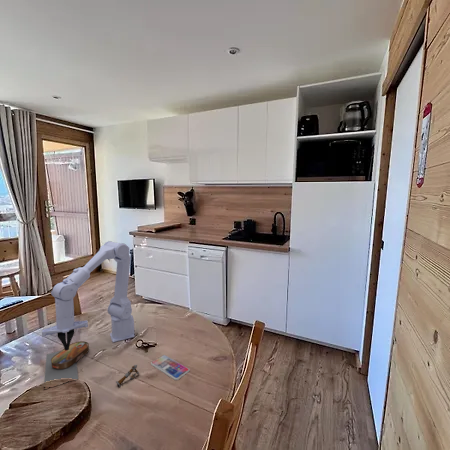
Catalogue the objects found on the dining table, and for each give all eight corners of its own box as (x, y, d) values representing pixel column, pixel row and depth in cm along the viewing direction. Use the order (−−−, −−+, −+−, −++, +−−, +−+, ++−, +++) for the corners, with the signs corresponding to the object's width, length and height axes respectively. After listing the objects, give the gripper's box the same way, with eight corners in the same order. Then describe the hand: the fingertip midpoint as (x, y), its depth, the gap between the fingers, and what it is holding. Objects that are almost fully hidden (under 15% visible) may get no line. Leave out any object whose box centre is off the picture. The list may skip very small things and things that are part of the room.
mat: (75, 347, 110) (75, 347, 109) (78, 379, 91) (78, 378, 91) (46, 355, 104) (46, 354, 104) (43, 390, 86) (43, 389, 86)
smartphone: (164, 353, 106) (191, 369, 97) (164, 356, 106) (191, 371, 97) (149, 362, 100) (176, 379, 91) (149, 365, 100) (176, 382, 91)
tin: (64, 365, 94) (45, 360, 95) (64, 373, 94) (45, 368, 96) (93, 342, 109) (76, 338, 110) (93, 349, 109) (75, 345, 110)
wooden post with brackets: (142, 372, 94) (137, 364, 92) (123, 391, 89) (117, 383, 87) (139, 370, 95) (134, 362, 93) (120, 389, 90) (115, 381, 88)
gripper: (40, 324, 89) (42, 360, 91) (88, 314, 97) (89, 348, 98) (41, 315, 95) (44, 350, 97) (86, 307, 103) (87, 339, 104)
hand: (66, 348), depth 98 cm, fingers closed
